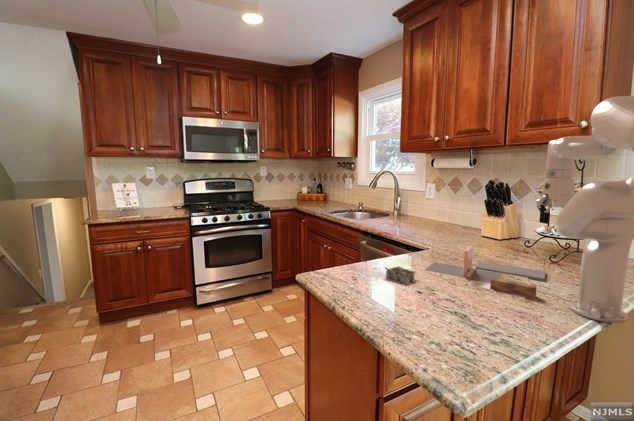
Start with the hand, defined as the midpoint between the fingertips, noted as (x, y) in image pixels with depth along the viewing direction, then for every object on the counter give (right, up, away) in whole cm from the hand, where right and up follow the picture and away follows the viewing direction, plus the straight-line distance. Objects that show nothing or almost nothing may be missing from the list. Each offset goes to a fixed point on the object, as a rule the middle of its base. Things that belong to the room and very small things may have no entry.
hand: (554, 222), depth 111 cm
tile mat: (-27, -21, +14) cm, 37 cm away
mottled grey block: (-53, -23, +9) cm, 59 cm away
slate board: (-7, -21, +15) cm, 27 cm away
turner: (-23, -24, -3) cm, 33 cm away
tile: (-25, -21, +13) cm, 35 cm away
